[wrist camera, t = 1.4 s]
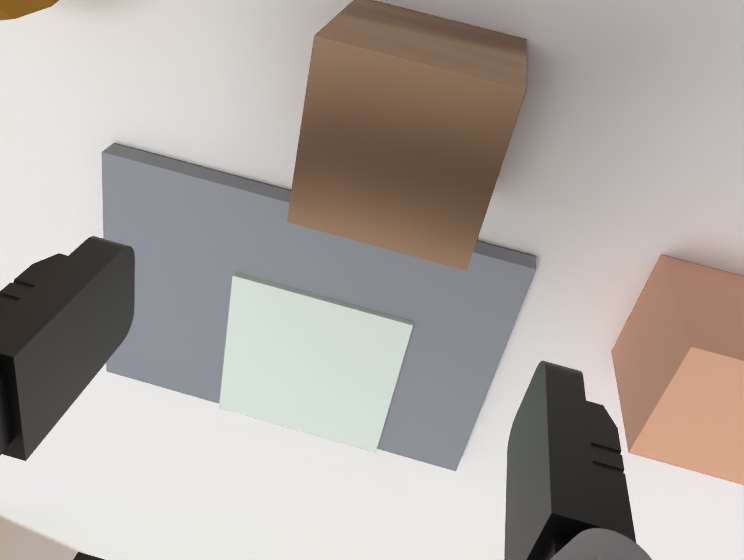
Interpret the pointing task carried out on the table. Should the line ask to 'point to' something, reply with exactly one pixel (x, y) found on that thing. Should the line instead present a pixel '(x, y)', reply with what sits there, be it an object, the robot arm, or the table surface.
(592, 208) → the table surface
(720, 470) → the terracotta block
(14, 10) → the apple
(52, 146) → the table surface
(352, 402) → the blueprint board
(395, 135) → the walnut block
